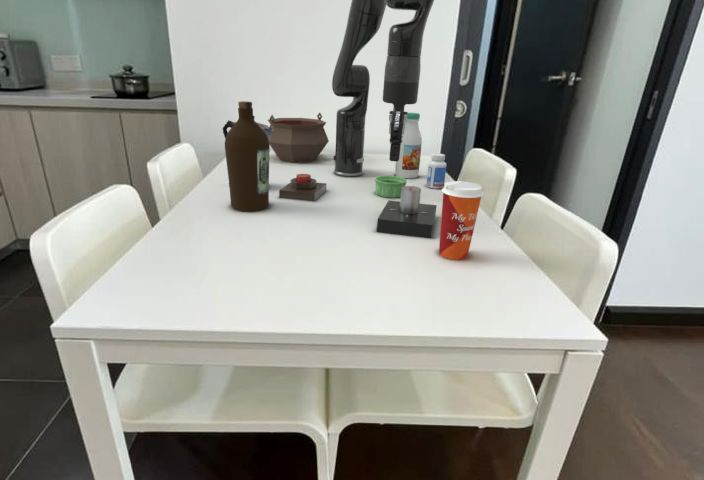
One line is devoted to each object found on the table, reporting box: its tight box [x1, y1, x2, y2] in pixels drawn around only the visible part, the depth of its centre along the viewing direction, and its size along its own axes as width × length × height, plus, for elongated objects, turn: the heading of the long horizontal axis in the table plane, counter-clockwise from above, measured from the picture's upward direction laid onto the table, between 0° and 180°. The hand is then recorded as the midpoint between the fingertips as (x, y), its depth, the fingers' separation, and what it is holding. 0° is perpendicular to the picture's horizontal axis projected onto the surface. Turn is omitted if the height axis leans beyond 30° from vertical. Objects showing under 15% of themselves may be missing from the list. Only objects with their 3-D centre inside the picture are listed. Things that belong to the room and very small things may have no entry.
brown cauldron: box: [267, 112, 330, 164], centre depth 172 cm, size 24×24×16 cm
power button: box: [295, 173, 312, 182], centre depth 128 cm, size 4×4×2 cm
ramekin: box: [374, 175, 408, 199], centre depth 132 cm, size 9×9×4 cm
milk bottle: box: [394, 112, 423, 179], centre depth 150 cm, size 8×8×20 cm
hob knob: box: [399, 185, 422, 214], centre depth 107 cm, size 4×4×6 cm
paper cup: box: [438, 180, 485, 261], centre depth 90 cm, size 8×8×14 cm
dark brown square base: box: [278, 177, 327, 202], centre depth 129 cm, size 12×10×4 cm
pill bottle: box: [425, 153, 447, 190], centre depth 141 cm, size 6×5×10 cm
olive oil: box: [224, 100, 271, 212], centre depth 113 cm, size 11×11×25 cm
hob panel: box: [376, 199, 438, 239], centre depth 109 cm, size 16×12×3 cm
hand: (394, 160), depth 107 cm, fingers closed
